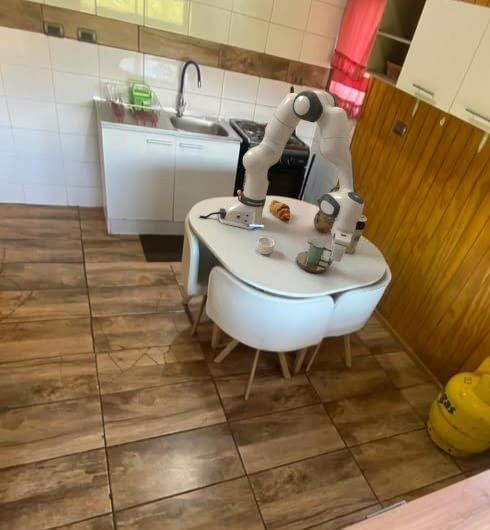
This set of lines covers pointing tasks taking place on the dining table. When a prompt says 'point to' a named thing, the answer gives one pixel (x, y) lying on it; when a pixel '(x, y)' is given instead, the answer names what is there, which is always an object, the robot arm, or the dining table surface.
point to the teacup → (265, 245)
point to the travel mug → (356, 234)
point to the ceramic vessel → (323, 219)
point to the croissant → (280, 210)
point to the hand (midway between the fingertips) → (331, 258)
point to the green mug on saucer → (314, 257)
